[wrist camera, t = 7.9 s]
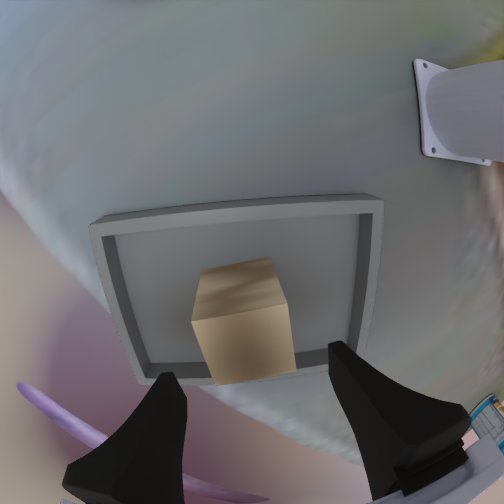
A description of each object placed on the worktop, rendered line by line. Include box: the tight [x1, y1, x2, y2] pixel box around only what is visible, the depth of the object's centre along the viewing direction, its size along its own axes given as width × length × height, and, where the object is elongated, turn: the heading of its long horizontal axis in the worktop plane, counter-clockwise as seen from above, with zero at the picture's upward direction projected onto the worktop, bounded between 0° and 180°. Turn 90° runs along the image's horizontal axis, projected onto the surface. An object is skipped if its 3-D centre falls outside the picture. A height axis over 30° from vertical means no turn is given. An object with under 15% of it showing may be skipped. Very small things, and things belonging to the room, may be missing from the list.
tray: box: [88, 194, 384, 386], centre depth 18 cm, size 18×13×2 cm
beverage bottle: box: [470, 394, 504, 456], centre depth 25 cm, size 8×8×20 cm
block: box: [191, 257, 296, 386], centre depth 16 cm, size 4×4×6 cm
